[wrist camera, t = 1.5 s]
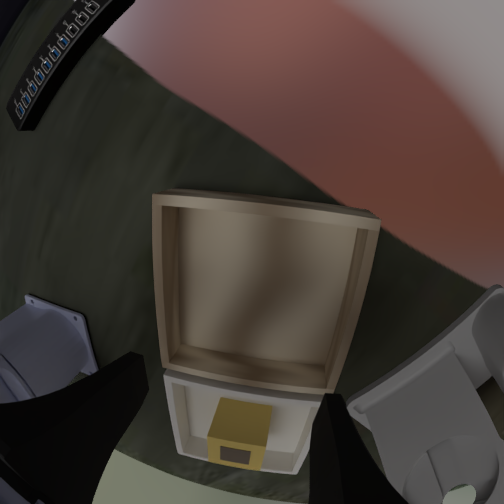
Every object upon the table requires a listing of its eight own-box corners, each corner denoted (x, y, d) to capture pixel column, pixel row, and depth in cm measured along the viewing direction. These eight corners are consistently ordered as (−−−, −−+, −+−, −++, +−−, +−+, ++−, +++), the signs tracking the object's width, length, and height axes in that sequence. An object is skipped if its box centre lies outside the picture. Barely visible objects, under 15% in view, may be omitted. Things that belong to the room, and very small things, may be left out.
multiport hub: (21, 107, 18) (4, 106, 16) (113, -16, 13) (99, -26, 11) (36, 132, 18) (18, 133, 16) (137, -1, 14) (123, -12, 12)
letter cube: (219, 425, 24) (208, 462, 19) (220, 397, 22) (206, 436, 18) (266, 433, 23) (259, 471, 19) (272, 405, 22) (266, 447, 17)
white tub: (186, 433, 26) (178, 453, 23) (177, 351, 22) (163, 374, 19) (298, 452, 24) (296, 474, 22) (327, 375, 20) (329, 402, 18)
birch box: (176, 344, 22) (162, 367, 19) (174, 188, 18) (152, 193, 15) (329, 368, 20) (332, 395, 17) (367, 209, 16) (381, 219, 13)
